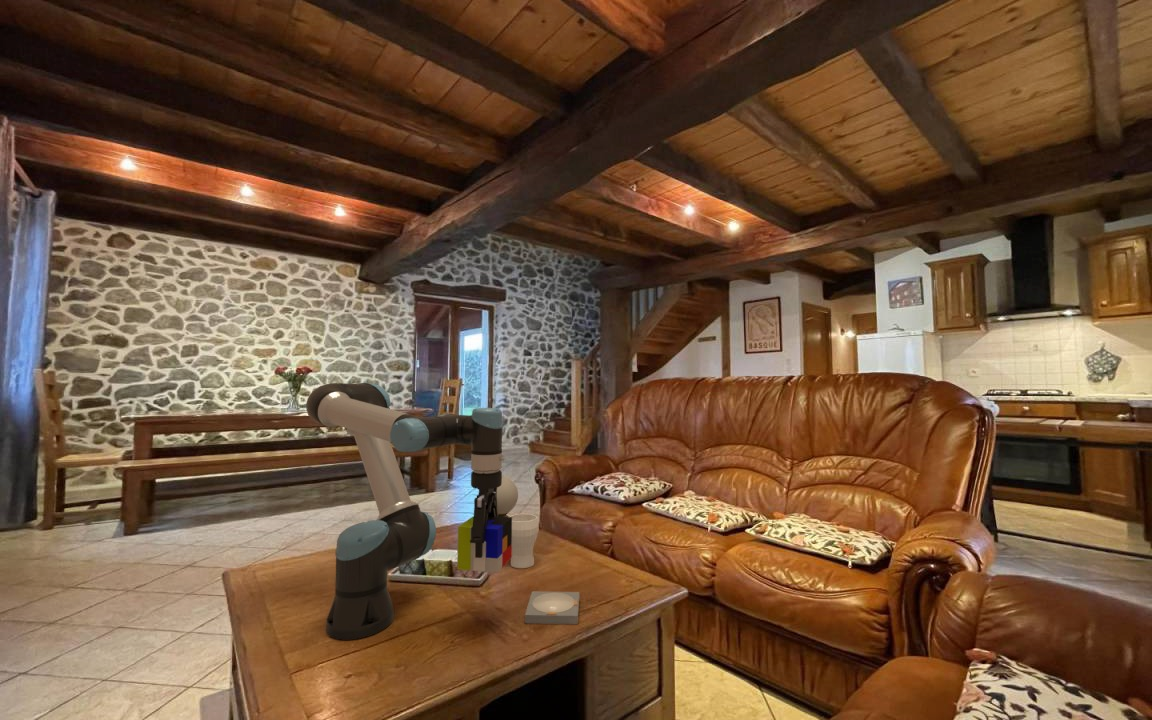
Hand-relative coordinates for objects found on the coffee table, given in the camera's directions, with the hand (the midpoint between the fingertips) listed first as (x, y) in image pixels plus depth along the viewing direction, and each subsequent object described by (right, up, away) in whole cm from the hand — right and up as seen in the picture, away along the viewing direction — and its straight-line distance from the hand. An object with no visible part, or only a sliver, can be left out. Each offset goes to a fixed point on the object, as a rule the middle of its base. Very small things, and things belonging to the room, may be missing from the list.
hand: (485, 561), depth 112 cm
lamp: (-7, -19, +55) cm, 59 cm away
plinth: (+17, -16, +6) cm, 24 cm away
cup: (+5, -18, +38) cm, 42 cm away
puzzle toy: (0, -1, 0) cm, 1 cm away
